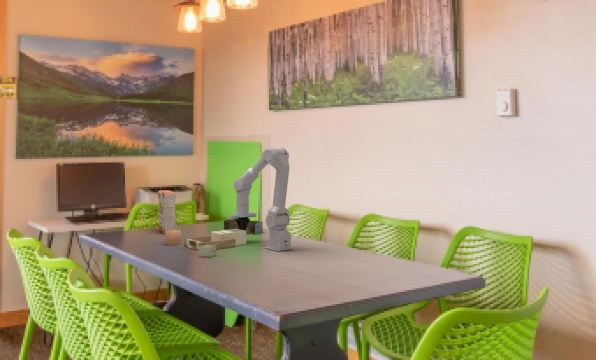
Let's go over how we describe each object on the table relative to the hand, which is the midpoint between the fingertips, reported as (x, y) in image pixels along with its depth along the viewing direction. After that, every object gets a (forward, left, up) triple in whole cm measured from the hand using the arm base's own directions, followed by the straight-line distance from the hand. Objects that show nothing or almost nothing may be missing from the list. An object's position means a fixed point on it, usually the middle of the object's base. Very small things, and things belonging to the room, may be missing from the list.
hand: (242, 233), depth 267 cm
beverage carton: (+23, -17, -4) cm, 29 cm away
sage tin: (-16, +29, -4) cm, 33 cm away
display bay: (0, +17, -4) cm, 17 cm away
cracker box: (+46, +14, -4) cm, 48 cm away
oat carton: (-1, +8, -4) cm, 9 cm away
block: (+16, +27, -4) cm, 32 cm away
